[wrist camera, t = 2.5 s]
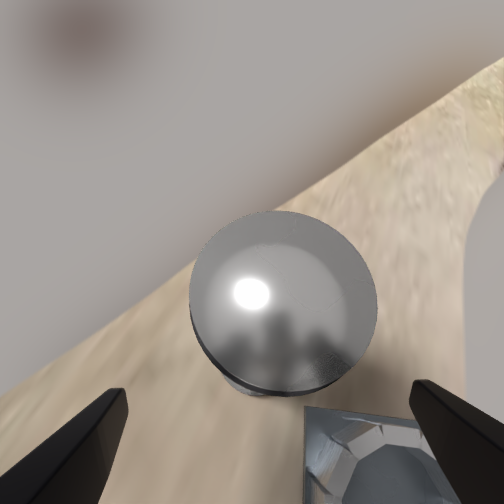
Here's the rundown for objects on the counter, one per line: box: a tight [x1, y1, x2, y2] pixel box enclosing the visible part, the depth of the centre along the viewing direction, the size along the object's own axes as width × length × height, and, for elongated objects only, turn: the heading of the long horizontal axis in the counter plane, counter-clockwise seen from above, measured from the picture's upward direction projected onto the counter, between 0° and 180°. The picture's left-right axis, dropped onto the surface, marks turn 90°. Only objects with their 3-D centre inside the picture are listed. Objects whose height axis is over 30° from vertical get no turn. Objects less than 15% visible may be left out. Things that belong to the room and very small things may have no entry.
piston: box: [189, 211, 378, 397], centre depth 12 cm, size 5×5×13 cm
